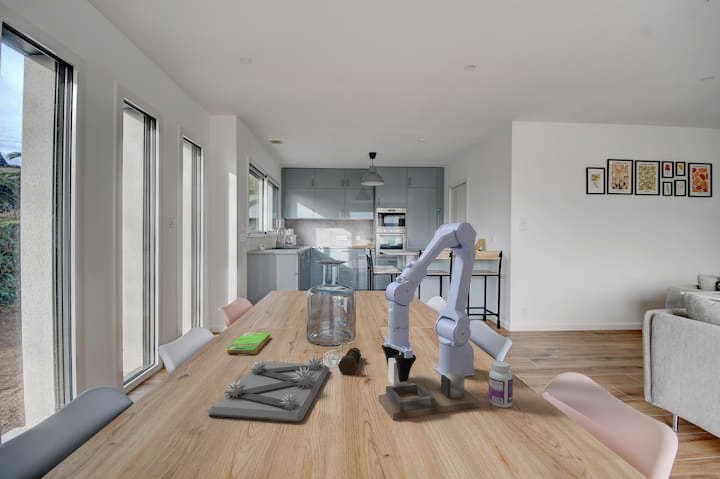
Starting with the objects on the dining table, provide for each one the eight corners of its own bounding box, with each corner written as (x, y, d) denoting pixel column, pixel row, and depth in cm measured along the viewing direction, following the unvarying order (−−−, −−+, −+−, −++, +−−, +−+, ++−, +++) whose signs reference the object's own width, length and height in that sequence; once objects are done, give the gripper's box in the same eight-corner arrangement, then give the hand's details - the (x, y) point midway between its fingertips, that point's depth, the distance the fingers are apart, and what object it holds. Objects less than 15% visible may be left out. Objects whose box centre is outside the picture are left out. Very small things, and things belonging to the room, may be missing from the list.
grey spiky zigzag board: (259, 368, 106) (260, 344, 106) (330, 372, 103) (330, 348, 103) (204, 419, 76) (205, 386, 76) (301, 426, 73) (302, 392, 73)
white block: (403, 378, 98) (403, 356, 98) (409, 383, 95) (409, 361, 95) (388, 379, 97) (388, 358, 97) (393, 385, 93) (393, 363, 93)
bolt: (357, 363, 115) (349, 380, 100) (344, 355, 116) (334, 370, 101) (366, 348, 115) (359, 362, 100) (353, 340, 115) (344, 353, 100)
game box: (270, 340, 136) (253, 356, 115) (245, 340, 136) (224, 355, 115) (270, 332, 136) (253, 346, 115) (245, 332, 136) (224, 346, 115)
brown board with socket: (458, 391, 90) (458, 365, 90) (480, 407, 82) (480, 379, 82) (378, 401, 84) (378, 374, 84) (392, 420, 75) (393, 390, 75)
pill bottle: (503, 397, 87) (503, 358, 87) (517, 407, 82) (517, 366, 82) (483, 399, 86) (484, 360, 86) (496, 409, 81) (497, 367, 81)
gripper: (375, 320, 102) (375, 367, 102) (395, 334, 88) (394, 388, 88) (398, 319, 104) (397, 365, 104) (420, 332, 90) (419, 385, 90)
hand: (397, 375), depth 96 cm, fingers open, 7 cm apart
